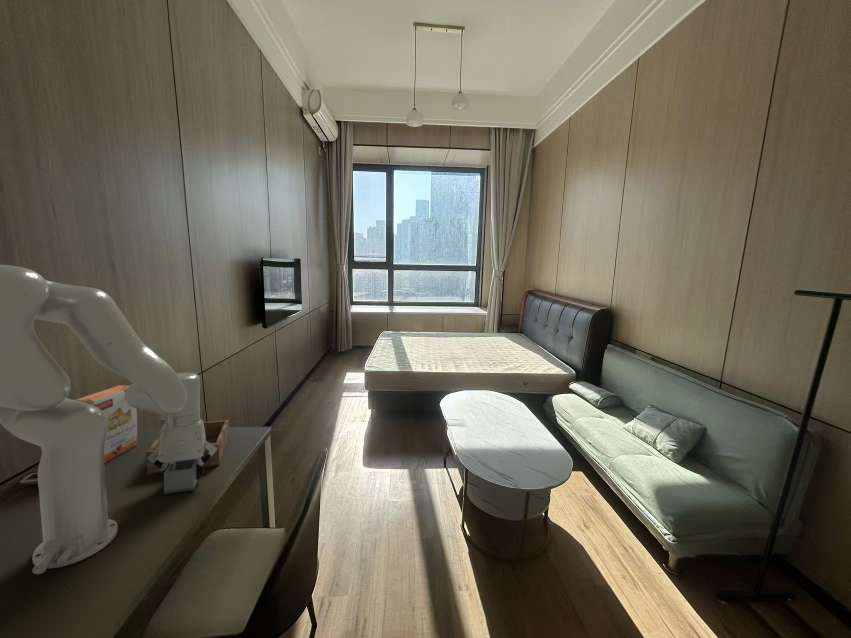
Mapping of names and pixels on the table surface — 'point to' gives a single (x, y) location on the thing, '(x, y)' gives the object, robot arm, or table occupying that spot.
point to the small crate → (180, 476)
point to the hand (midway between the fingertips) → (184, 478)
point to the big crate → (214, 435)
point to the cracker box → (116, 420)
